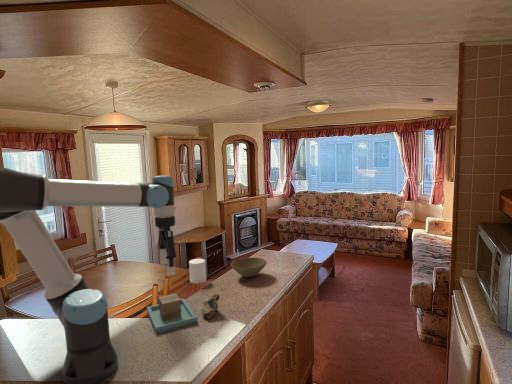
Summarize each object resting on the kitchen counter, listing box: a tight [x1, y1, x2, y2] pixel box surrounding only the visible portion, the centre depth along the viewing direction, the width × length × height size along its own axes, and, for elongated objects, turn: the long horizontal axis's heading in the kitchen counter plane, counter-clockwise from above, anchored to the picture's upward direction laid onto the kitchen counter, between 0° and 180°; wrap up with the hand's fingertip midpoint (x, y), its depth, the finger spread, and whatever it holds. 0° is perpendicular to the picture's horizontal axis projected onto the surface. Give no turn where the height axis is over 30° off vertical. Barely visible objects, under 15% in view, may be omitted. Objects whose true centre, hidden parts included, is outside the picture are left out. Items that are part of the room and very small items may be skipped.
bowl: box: [230, 257, 268, 278], centre depth 173 cm, size 18×18×8 cm
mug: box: [188, 258, 207, 284], centre depth 172 cm, size 8×10×12 cm
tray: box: [146, 298, 198, 334], centre depth 133 cm, size 19×15×2 cm
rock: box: [201, 293, 220, 320], centre depth 134 cm, size 9×7×10 cm
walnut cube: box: [158, 293, 181, 321], centre depth 132 cm, size 7×7×7 cm
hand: (167, 269), depth 130 cm, fingers open, 13 cm apart
